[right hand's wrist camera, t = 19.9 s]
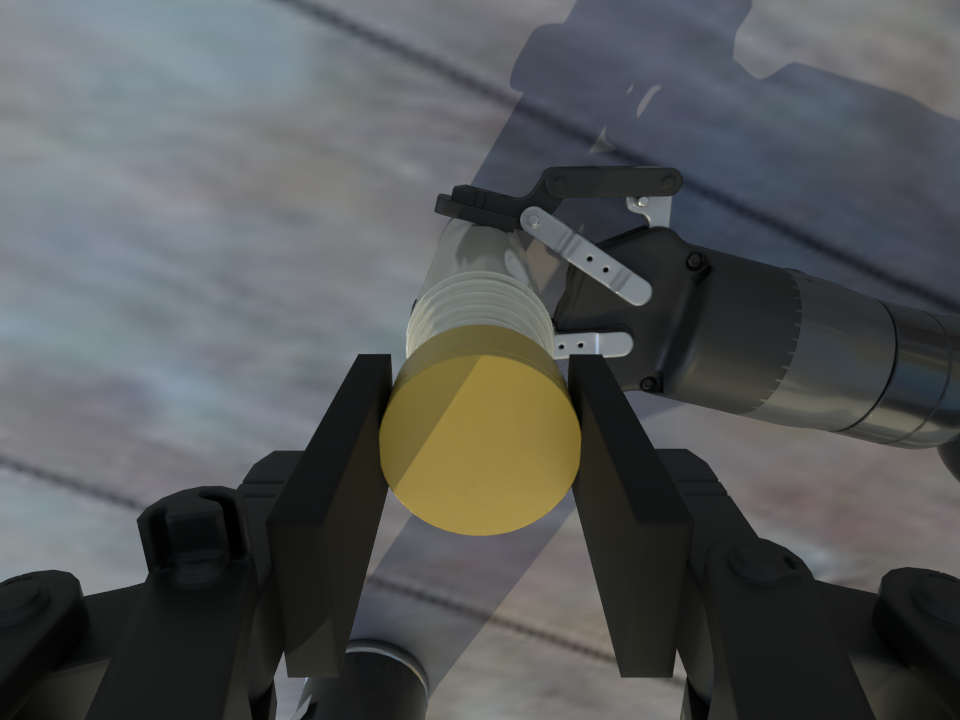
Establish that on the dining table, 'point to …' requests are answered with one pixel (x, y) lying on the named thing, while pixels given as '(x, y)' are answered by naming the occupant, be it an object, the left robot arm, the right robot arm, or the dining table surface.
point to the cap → (480, 432)
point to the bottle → (479, 287)
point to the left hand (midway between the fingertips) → (426, 258)
